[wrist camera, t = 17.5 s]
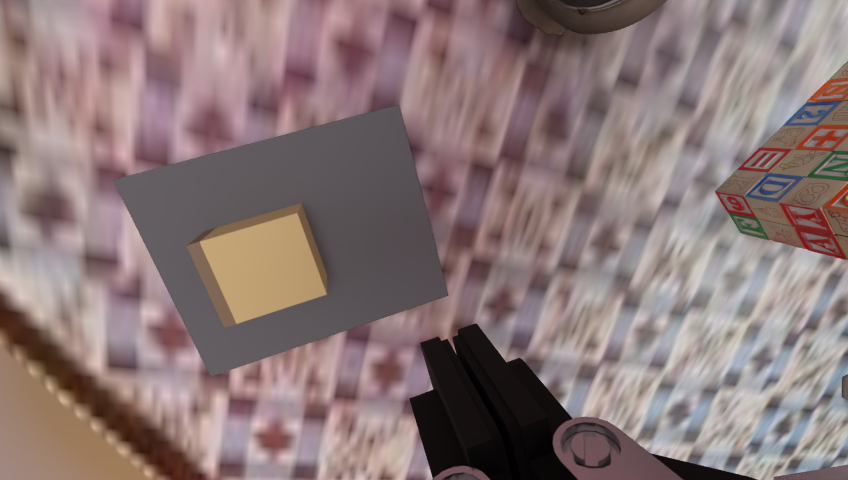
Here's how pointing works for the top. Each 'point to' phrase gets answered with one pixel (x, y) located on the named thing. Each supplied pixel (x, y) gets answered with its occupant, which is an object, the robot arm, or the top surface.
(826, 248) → the stack of blocks
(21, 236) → the top surface
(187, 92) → the top surface
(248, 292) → the block
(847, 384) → the taupe upright slab
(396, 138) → the mat
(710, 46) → the top surface
